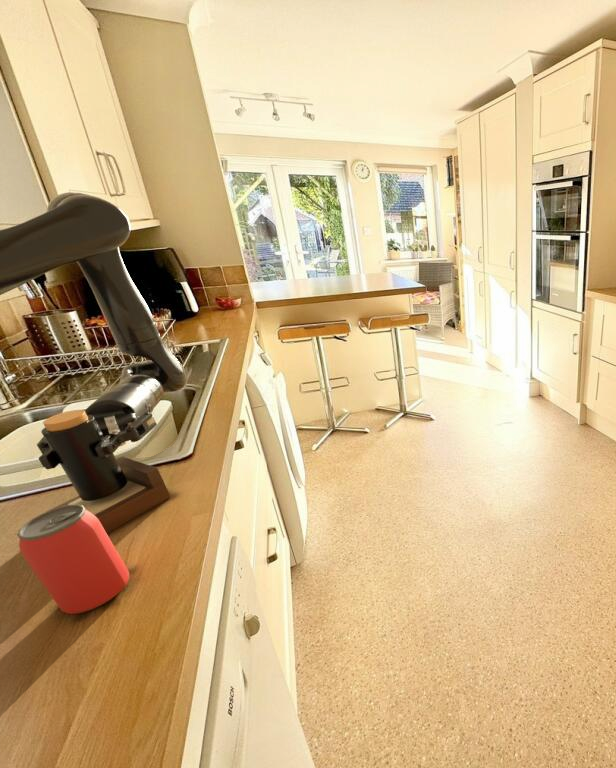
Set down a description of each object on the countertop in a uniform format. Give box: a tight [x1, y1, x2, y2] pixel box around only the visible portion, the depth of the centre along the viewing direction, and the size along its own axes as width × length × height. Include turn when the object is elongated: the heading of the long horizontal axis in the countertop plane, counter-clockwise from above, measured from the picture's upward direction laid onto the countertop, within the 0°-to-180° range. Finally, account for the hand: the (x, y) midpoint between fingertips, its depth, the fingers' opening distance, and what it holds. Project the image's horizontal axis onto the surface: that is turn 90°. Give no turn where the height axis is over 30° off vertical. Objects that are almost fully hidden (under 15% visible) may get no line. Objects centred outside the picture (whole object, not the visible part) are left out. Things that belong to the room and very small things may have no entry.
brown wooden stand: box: [46, 456, 171, 534], centre depth 66 cm, size 10×11×6 cm
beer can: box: [16, 505, 130, 615], centre depth 50 cm, size 7×7×12 cm
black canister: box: [41, 409, 127, 501], centre depth 63 cm, size 6×6×13 cm
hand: (74, 458), depth 60 cm, fingers closed on black canister, 5 cm apart
